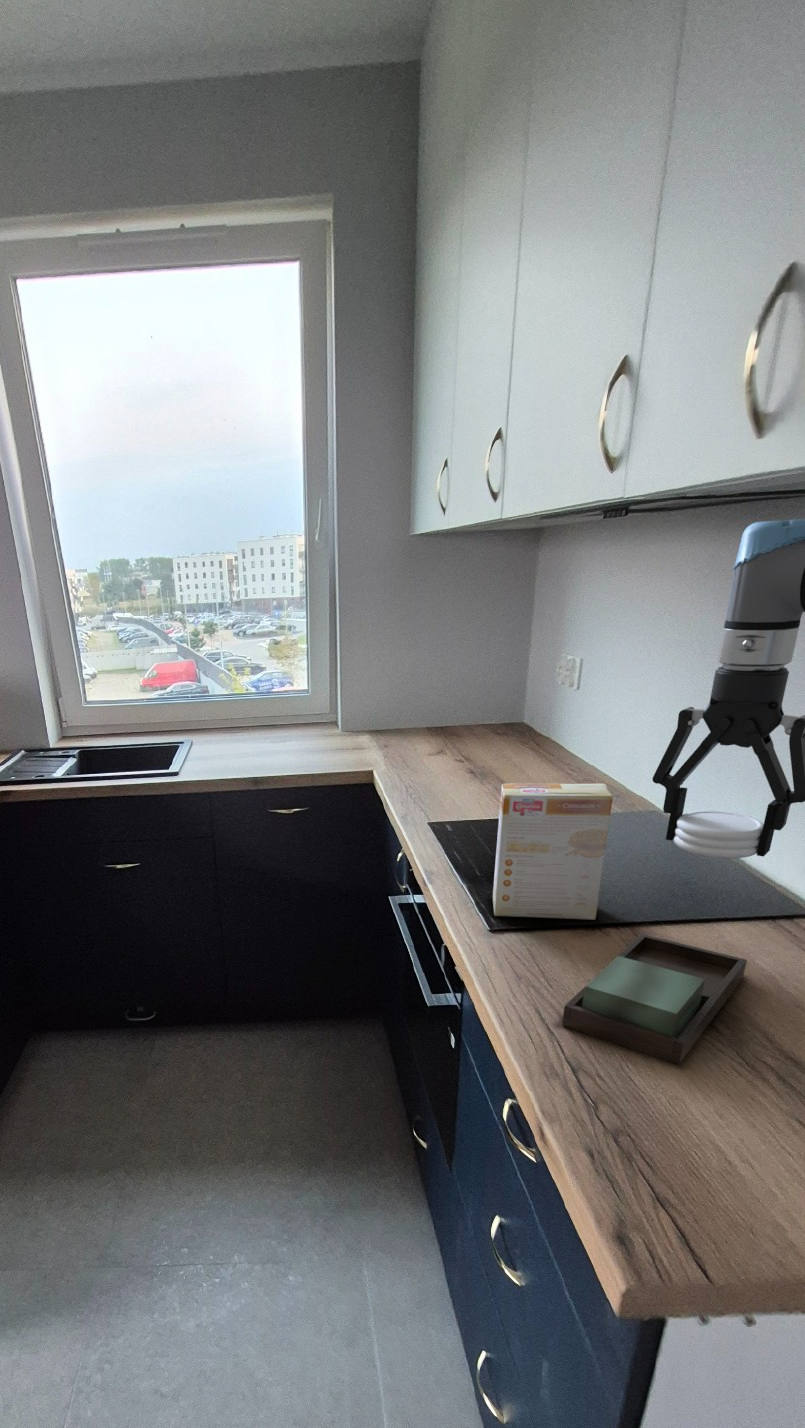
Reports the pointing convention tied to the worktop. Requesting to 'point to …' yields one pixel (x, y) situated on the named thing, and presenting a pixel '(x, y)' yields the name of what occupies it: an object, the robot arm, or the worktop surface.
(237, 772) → the worktop surface
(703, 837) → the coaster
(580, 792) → the coffeecake box
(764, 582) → the robot arm
